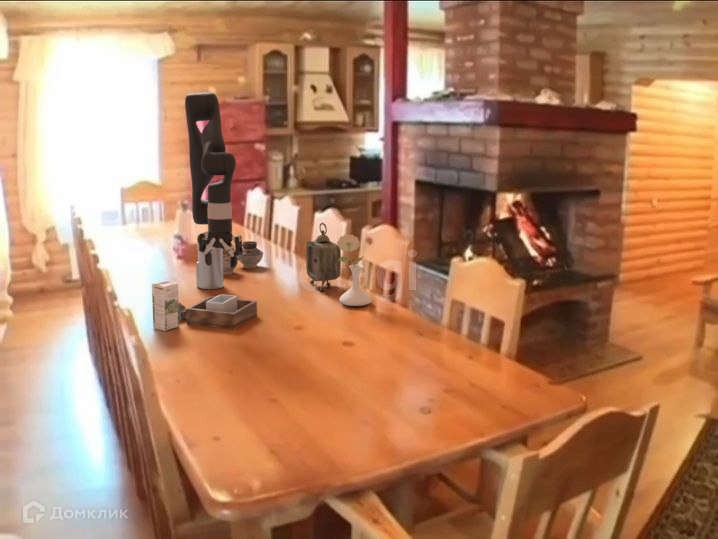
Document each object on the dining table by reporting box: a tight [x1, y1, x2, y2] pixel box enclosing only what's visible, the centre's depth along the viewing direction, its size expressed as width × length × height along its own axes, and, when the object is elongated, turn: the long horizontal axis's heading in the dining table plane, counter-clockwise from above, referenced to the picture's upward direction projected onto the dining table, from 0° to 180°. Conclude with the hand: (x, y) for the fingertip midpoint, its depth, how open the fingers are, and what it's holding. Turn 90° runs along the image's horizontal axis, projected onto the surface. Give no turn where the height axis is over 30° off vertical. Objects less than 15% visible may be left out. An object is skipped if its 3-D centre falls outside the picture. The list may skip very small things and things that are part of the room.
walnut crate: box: [185, 295, 258, 330], centre depth 239 cm, size 17×16×5 cm
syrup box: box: [151, 280, 180, 332], centre depth 229 cm, size 6×6×14 cm
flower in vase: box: [336, 234, 373, 307], centre depth 258 cm, size 13×11×25 cm
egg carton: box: [179, 302, 186, 322], centre depth 240 cm, size 11×8×4 cm
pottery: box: [223, 240, 264, 276], centre depth 307 cm, size 11×25×12 cm, turn 148°
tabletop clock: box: [305, 222, 342, 292], centre depth 280 cm, size 14×9×25 cm, turn 23°
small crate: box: [206, 293, 238, 313], centre depth 239 cm, size 6×10×6 cm, turn 163°
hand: (221, 266), depth 236 cm, fingers open, 8 cm apart
